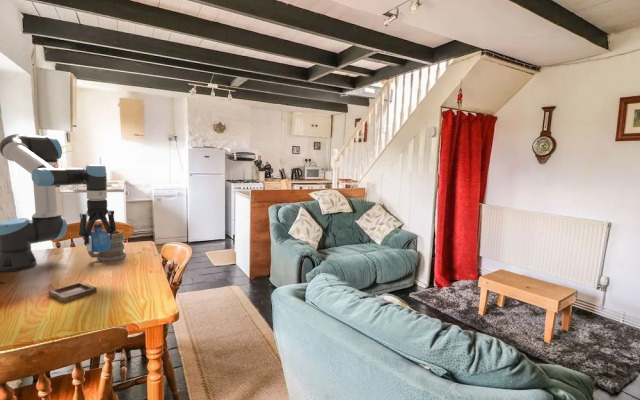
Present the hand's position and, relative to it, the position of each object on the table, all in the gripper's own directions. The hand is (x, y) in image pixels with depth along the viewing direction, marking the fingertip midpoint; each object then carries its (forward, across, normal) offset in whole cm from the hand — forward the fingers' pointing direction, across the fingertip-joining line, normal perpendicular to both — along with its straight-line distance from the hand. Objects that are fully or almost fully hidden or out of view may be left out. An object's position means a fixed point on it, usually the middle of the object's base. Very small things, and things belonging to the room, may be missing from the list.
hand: (98, 248), depth 152 cm
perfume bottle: (+1, 0, 0) cm, 1 cm away
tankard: (+15, +17, +27) cm, 35 cm away
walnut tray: (+14, -15, -8) cm, 22 cm away
